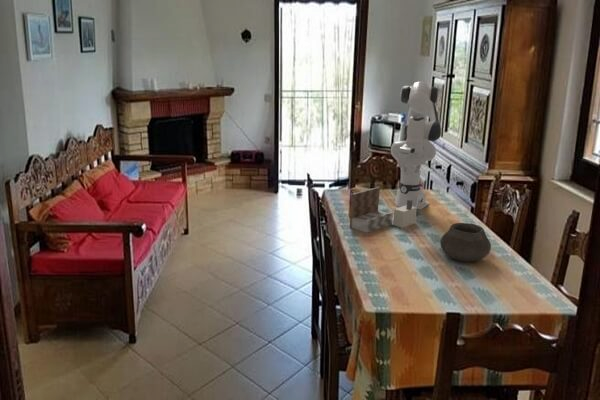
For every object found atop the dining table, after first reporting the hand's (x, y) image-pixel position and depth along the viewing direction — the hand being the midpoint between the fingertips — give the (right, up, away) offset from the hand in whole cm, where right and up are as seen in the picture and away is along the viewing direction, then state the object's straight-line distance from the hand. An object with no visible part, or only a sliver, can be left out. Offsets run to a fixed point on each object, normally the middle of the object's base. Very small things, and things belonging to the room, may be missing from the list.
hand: (411, 174), depth 269 cm
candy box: (-27, -23, +19) cm, 40 cm away
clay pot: (+16, -40, -34) cm, 55 cm away
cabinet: (-2, -27, +9) cm, 28 cm away
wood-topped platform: (-20, -27, +5) cm, 34 cm away
